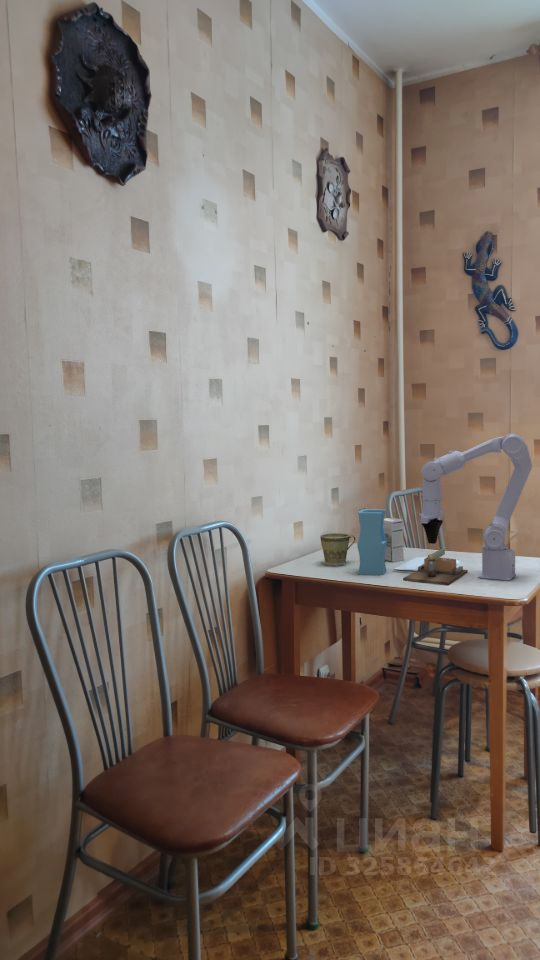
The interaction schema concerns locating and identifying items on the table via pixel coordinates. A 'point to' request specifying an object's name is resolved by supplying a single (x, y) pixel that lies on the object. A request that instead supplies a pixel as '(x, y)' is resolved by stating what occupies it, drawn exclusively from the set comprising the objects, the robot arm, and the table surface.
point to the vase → (372, 542)
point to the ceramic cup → (335, 548)
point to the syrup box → (393, 539)
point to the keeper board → (433, 580)
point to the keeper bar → (436, 555)
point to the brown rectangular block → (442, 564)
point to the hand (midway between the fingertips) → (432, 543)
